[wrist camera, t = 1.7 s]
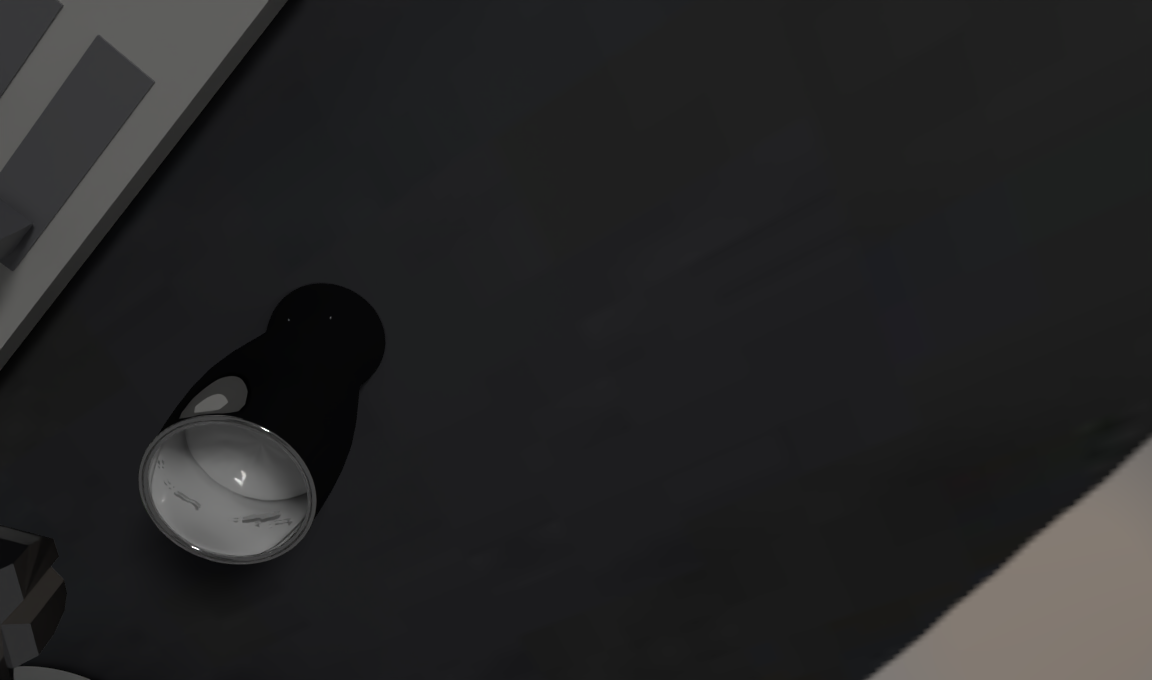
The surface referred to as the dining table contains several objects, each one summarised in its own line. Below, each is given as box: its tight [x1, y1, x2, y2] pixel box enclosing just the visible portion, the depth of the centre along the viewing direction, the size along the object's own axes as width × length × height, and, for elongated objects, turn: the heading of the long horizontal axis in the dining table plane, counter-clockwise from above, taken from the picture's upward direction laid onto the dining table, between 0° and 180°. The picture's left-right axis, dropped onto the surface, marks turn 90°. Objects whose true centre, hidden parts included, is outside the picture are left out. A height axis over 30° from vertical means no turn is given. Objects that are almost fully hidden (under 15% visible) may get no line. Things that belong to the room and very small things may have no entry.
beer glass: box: [138, 283, 385, 565], centre depth 39 cm, size 7×7×15 cm
